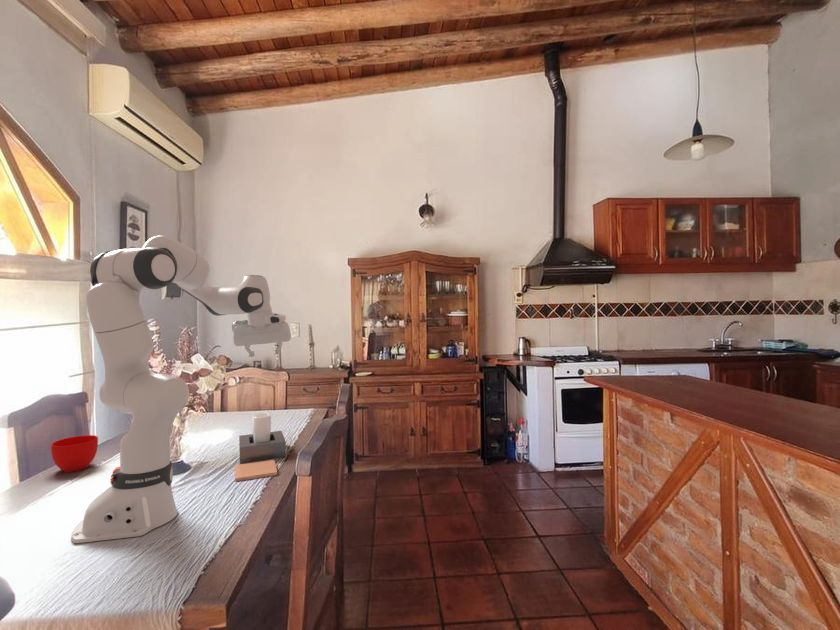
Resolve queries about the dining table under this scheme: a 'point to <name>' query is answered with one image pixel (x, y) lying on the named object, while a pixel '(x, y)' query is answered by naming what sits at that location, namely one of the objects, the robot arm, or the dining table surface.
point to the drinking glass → (261, 427)
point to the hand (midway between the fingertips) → (264, 355)
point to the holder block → (262, 448)
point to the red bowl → (74, 452)
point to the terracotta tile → (255, 470)
